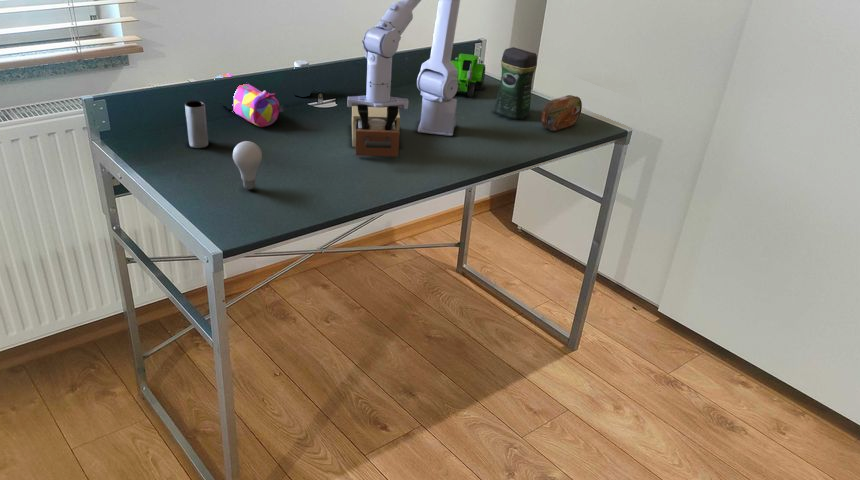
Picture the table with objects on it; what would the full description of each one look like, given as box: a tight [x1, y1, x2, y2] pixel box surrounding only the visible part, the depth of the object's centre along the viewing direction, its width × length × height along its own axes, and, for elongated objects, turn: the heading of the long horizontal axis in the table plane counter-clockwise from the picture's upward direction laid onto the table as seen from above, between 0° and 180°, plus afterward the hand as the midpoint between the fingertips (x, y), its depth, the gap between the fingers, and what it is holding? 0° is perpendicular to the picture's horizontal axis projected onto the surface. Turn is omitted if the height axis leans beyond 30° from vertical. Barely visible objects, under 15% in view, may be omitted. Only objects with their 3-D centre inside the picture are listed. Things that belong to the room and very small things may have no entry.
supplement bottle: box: [293, 59, 310, 68], centre depth 209 cm, size 5×5×10 cm
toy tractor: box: [451, 53, 486, 98], centre depth 223 cm, size 11×16×10 cm
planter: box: [184, 100, 209, 149], centre depth 175 cm, size 4×4×10 cm
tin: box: [540, 94, 583, 132], centre depth 203 cm, size 15×3×8 cm, turn 131°
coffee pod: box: [368, 119, 387, 130], centre depth 179 cm, size 5×5×5 cm
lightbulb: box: [232, 140, 263, 191], centre depth 157 cm, size 6×6×11 cm
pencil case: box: [215, 73, 285, 128], centre depth 193 cm, size 22×9×9 cm, turn 47°
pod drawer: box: [354, 119, 400, 158], centre depth 179 cm, size 17×10×6 cm, turn 6°
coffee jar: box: [494, 46, 538, 120], centre depth 206 cm, size 10×8×19 cm
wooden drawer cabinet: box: [351, 106, 401, 148], centre depth 188 cm, size 14×12×8 cm
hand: (376, 135), depth 179 cm, fingers closed on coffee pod, 4 cm apart
